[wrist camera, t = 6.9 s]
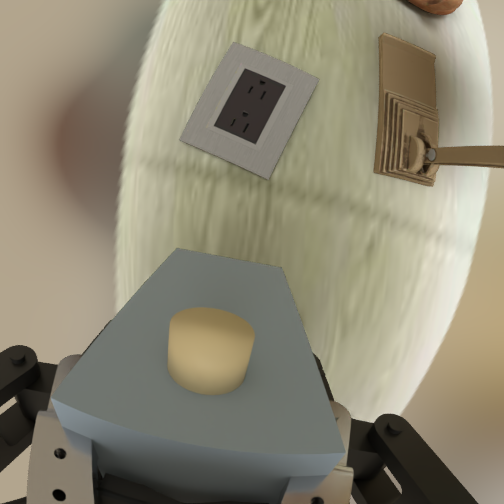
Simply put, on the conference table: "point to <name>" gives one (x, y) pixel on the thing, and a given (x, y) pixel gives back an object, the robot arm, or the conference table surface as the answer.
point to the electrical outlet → (249, 109)
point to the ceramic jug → (437, 5)
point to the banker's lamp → (416, 118)
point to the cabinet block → (205, 386)
